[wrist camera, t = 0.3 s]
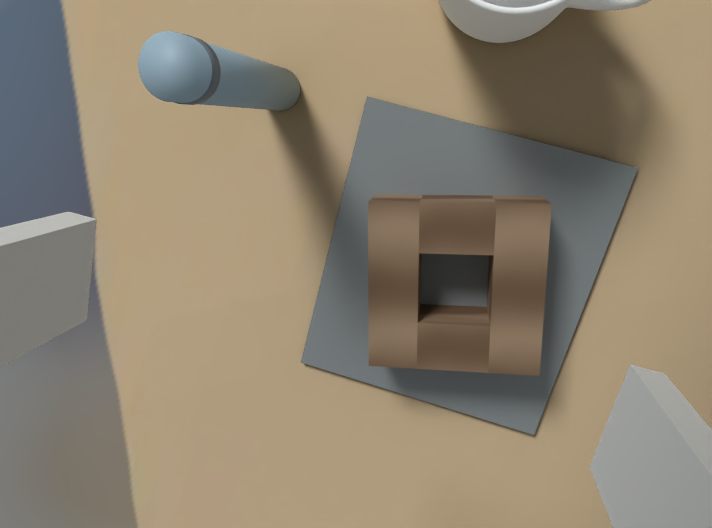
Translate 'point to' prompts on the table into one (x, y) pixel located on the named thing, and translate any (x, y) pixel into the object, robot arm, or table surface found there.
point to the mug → (517, 15)
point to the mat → (463, 272)
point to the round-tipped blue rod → (212, 75)
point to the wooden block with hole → (451, 322)
